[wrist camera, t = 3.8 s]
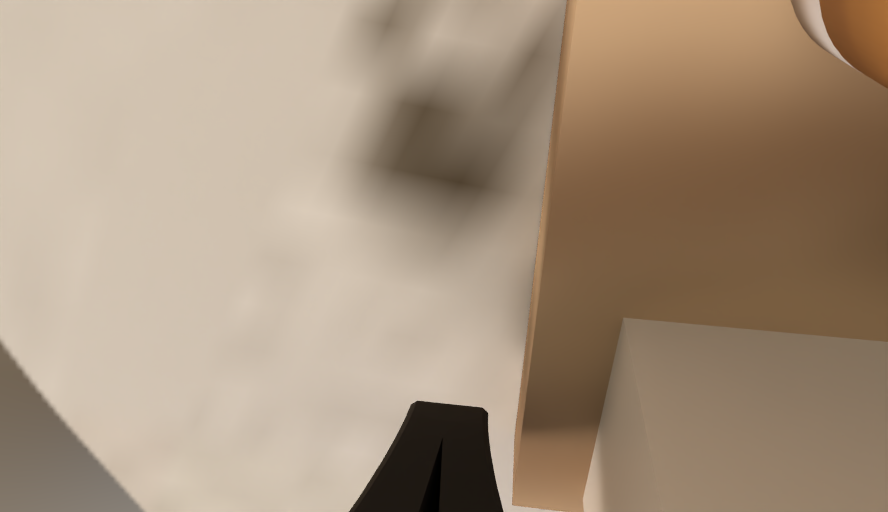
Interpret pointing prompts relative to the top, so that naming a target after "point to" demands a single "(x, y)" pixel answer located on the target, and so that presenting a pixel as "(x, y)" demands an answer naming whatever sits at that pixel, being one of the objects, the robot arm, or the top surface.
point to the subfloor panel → (693, 204)
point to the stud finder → (741, 422)
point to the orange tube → (849, 32)
